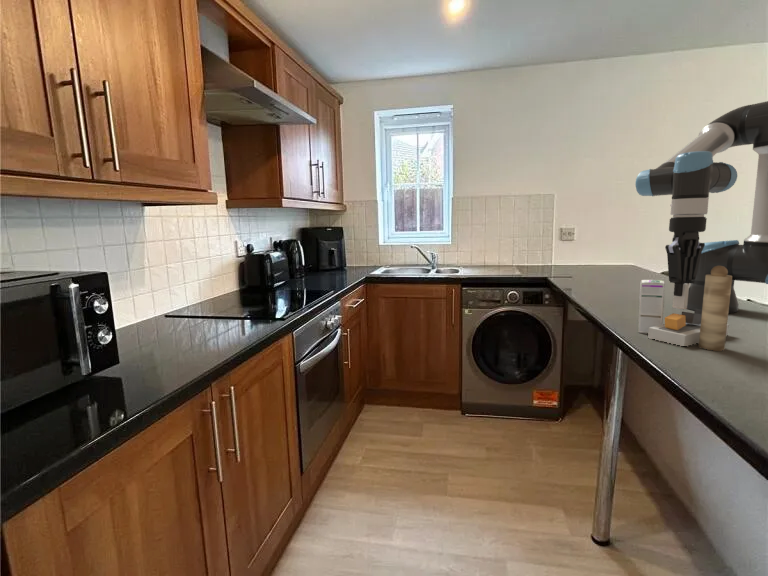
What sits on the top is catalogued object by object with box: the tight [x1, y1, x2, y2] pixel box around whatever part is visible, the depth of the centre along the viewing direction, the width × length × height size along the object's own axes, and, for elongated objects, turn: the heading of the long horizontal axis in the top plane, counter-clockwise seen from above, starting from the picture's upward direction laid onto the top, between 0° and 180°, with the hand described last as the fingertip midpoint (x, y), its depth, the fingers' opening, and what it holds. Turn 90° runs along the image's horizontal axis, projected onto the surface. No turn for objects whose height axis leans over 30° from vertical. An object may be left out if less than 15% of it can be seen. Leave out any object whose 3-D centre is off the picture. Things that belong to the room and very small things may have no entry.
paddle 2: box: [693, 309, 702, 317], centre depth 113 cm, size 4×3×3 cm
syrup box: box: [637, 279, 666, 334], centre depth 117 cm, size 6×6×14 cm
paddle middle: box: [680, 311, 702, 325], centre depth 111 cm, size 4×3×3 cm
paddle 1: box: [664, 313, 686, 330], centre depth 108 cm, size 4×3×3 cm
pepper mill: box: [698, 266, 732, 352], centre depth 101 cm, size 5×5×20 cm
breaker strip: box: [647, 321, 730, 347], centre depth 111 cm, size 20×9×3 cm, turn 116°
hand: (679, 307), depth 108 cm, fingers closed
